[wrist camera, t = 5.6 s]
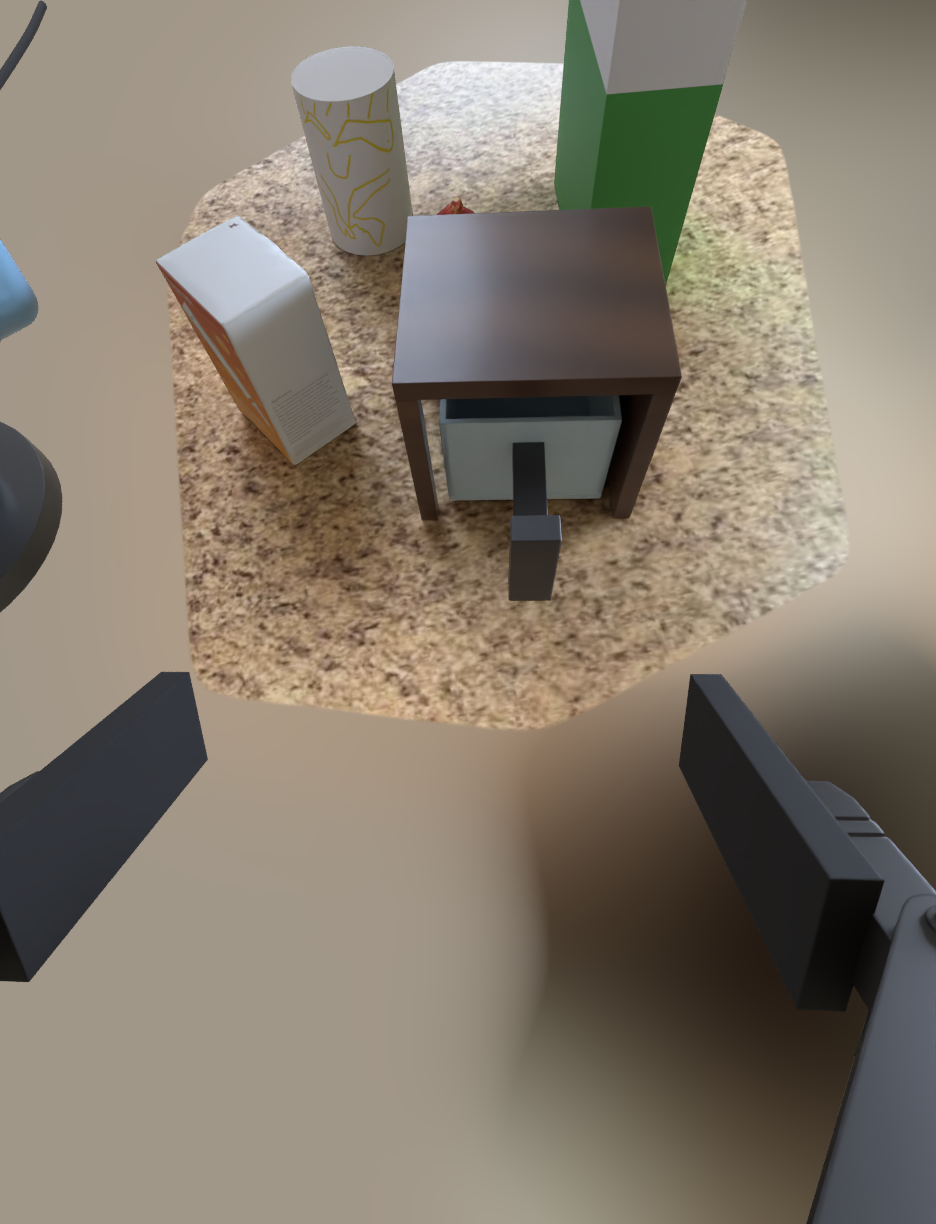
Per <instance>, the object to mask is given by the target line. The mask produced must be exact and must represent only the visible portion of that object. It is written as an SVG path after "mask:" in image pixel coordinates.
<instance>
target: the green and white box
mask: <svg viewBox="0 0 936 1224" xmlns="http://www.w3.org/2000/svg"><path fill="white" fill-rule="evenodd" d="M746 3H747V0H569V7H568V19H567V32H566V44H565V56H564V69H563V81H562V93H561V106H560V118H559V130H558V143H557V155H556V167H555V180H554V184H555V190H556V195H557V200H558V205H559V210H574V209H599V208H624V207H649V206H650V207H651V209H652V215H653V220H654V226H655V231H656V237H657V242H658V248H659V253H660V259H661V264H662V270H663V275H664V281H665V286H666V283H667V279H668V276H669V272H670V269H671V265H672V262H673V258H674V255H675V251H676V248H677V244H678V241H679V237H680V234H681V230H682V227H683V223H684V220H685V216H686V213H687V209H688V206H689V202H690V199H691V195H692V192H693V188H694V185H695V181H696V178H697V174H698V171H699V167H700V164H701V160H702V157H703V153H704V150H705V146H706V143H707V139H708V136H709V132H710V129H711V125H712V122H713V118H714V115H715V111H716V108H717V104H718V101H719V97H720V93H721V90H722V86H723V83H724V79H725V76H726V73H727V69H728V65H729V62H730V59H731V55H732V51H733V48H734V45H735V41H736V38H737V34H738V31H739V27H740V24H741V19H742V16H743V13H744V9H745V6H746Z"/></svg>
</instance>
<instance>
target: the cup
mask: <svg viewBox="0 0 936 1224" xmlns="http://www.w3.org/2000/svg"><path fill="white" fill-rule="evenodd" d="M291 83H292V87H293V91H294V94H295V99H296V102H297V106H298V110H299V114H300V118H301V122H302V125H303V129H304V133H305V137H306V141H307V145H308V148H309V152H310V156H311V160H312V164H313V167H314V171H315V175H316V179H317V183H318V187H319V190H320V194H321V198H322V202H323V206H324V209H325V213H326V217H327V221H328V225H329V229H330V232H331V236H332V239H333V241H334V243H335V244H336V245H337V246H338V247H339V248H341V249H342V250H344V251H346V252H349V253H352V254H356V255H378V254H382V253H386V252H389V251H392V250H394V249H396V248H398V247H399V246H401V245H402V244H403V243H405V240H406V230H407V219H408V216H413V213H412V205H411V198H410V190H409V182H408V174H407V167H406V159H405V151H404V143H403V136H402V128H401V120H400V113H399V105H398V97H397V89H396V82H395V74H394V66H393V63H392V61H391V59H390V58H389V57H388V56H387V55H385V54H384V53H382V52H380V51H377V50H375V49H371V48H366V47H357V46H349V47H338V48H332V49H328V50H325V51H322V52H319V53H316V54H314V55H312V56H310V57H308V58H306V59H305V60H304V61H302V62H301V63H300V64H299V65H298V66H297V67H296V68H295V69H294V71H293V73H292V76H291Z"/></svg>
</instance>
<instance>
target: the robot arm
mask: <svg viewBox="0 0 936 1224" xmlns="http://www.w3.org/2000/svg"><path fill="white" fill-rule="evenodd" d="M46 9H47V6H46V4H45V3H44V2H43V1H39V3H38V5H37V7H36V10H35V12H34V14H33V16H32V19H31V21H30V23H29V25H28V27H27V29H26V30H25V32H24V34H23V36H22V37H21V39H20V41H19V42H18V44H17V45H16V47H15V48H14V50H13V51H12V53H11V54H10V56H9V58H8V59H7V61H6V62H5V64H4V65H3V67H2V68H1V70H0V89H1V88H2V87H3V85H4V84H5V82H6V81H7V79H8V78H9V76H10V75H11V73H12V71H13V70H14V69H15V67H16V65H17V64H18V62H19V60H20V59H21V57H22V56H23V54H24V53H25V51H26V49H27V48H28V46H29V44H30V43H31V41H32V39H33V37H34V36H35V34H36V32H37V30H38V28H39V25H40V23H41V21H42V18H43V16H44V14H45V11H46ZM37 313H38V302H37V298H36V296H35V294H34V292H33V290H32V289H31V287H30V286H29V284H28V282H27V281H26V279H25V278H24V276H23V274H22V273H21V271H20V270H19V268H18V267H17V265H16V264H15V262H14V260H13V259H12V257H11V256H10V254H9V252H8V251H7V249H6V248H5V246H4V245H3V243H2V241H1V240H0V341H1V340H2V339H4V338H6V337H8V336H10V335H12V334H14V333H15V332H17V331H19V330H21V329H23V328H25V327H27V326H28V325H30V324H31V323H32V322H33V321H34V320H35V318H36V316H37ZM207 760H208V759H207V754H206V749H205V744H204V740H203V735H202V730H201V726H200V721H199V716H198V712H197V707H196V702H195V697H194V693H193V688H192V683H191V679H190V674H189V672H161V673H160V674H158V675H157V676H156V677H155V678H153V679H152V680H151V681H150V682H148V683H147V684H146V685H145V686H144V687H142V688H141V689H140V690H139V691H137V692H136V693H135V694H134V695H133V696H131V698H129V699H128V700H126V701H125V702H124V703H123V704H122V705H120V706H119V707H118V708H117V709H116V710H114V711H113V712H112V713H111V714H109V715H108V716H107V717H106V718H104V719H103V720H102V721H101V722H99V723H98V724H97V725H96V726H95V727H94V728H92V729H91V730H90V731H89V732H87V733H86V734H85V735H84V736H82V737H81V738H80V739H79V740H78V741H76V742H75V743H74V744H73V745H71V746H70V747H69V748H68V749H67V750H65V751H64V752H63V753H62V754H60V755H59V756H58V757H57V758H56V759H54V760H53V761H52V762H50V764H48V765H47V766H46V767H44V768H43V769H42V770H41V771H37V772H35V773H33V774H31V775H29V776H27V777H26V778H24V779H22V780H20V781H18V782H16V783H14V784H12V785H11V786H9V787H8V788H6V789H5V790H4V791H3V792H1V793H0V981H16V982H29V981H30V980H31V979H32V978H33V976H34V975H35V974H36V973H37V971H38V970H39V969H40V967H41V966H42V965H43V964H44V963H45V961H46V960H47V959H48V958H49V956H50V955H51V954H52V953H53V951H54V950H55V949H56V948H57V946H58V945H59V944H60V943H61V941H62V940H63V939H64V938H65V936H66V935H67V934H68V933H69V932H70V930H71V929H72V928H73V927H74V925H75V924H76V923H77V922H78V920H79V919H80V918H81V917H82V915H83V914H84V913H85V911H86V910H87V909H88V908H89V907H90V905H91V904H92V903H93V902H94V900H95V899H96V898H97V897H98V895H99V894H100V893H101V892H102V890H103V889H104V888H105V887H106V885H107V884H108V883H109V881H111V879H112V878H113V877H114V876H115V874H116V873H117V872H118V871H119V869H120V868H121V867H122V865H123V864H124V863H125V862H126V861H127V859H128V858H129V857H130V855H131V854H132V853H133V852H134V851H135V849H136V848H137V847H138V846H139V844H140V843H141V842H142V841H143V839H144V838H145V837H146V836H147V834H148V833H149V832H150V830H151V829H152V828H153V827H154V826H155V824H156V823H157V822H158V820H159V819H160V818H161V817H162V816H163V815H164V813H165V812H166V811H167V809H168V808H169V807H170V806H171V805H172V803H173V802H174V801H175V800H176V798H177V797H178V796H179V794H180V793H181V792H182V791H183V790H184V788H185V787H186V786H187V785H188V783H189V782H190V781H191V780H192V778H193V777H194V776H195V775H196V773H197V772H198V771H199V770H200V768H201V767H202V766H203V765H204V763H205V762H206V761H207ZM679 767H680V769H681V771H682V773H683V775H684V777H685V779H686V781H687V783H688V785H689V788H690V790H691V792H692V794H693V796H694V798H695V800H696V802H697V804H698V806H699V808H700V810H701V812H702V815H703V817H704V819H705V821H706V823H707V825H708V827H709V829H710V831H711V833H712V835H713V837H714V839H715V841H716V844H717V846H718V847H719V850H720V852H721V854H722V856H723V858H724V860H725V862H726V864H727V866H728V868H729V870H730V872H731V875H732V877H733V879H734V881H735V883H736V885H737V887H738V889H739V891H740V893H741V895H742V897H743V899H744V901H745V903H746V905H747V908H748V910H749V912H750V914H751V916H752V918H753V920H754V922H755V924H756V926H757V928H758V930H759V932H760V935H761V936H762V939H763V941H764V943H765V945H766V947H767V949H768V951H769V953H770V955H771V957H772V959H773V961H774V964H775V966H776V968H777V969H778V972H779V974H780V976H781V978H782V980H783V982H784V984H785V986H786V988H787V990H788V992H789V995H790V996H791V998H792V1001H793V1003H794V1005H795V1007H796V1009H797V1010H819V1011H846V1007H847V1004H848V1001H849V997H850V994H851V991H852V988H853V985H854V986H855V988H856V990H857V991H858V993H859V995H860V996H861V998H862V1000H863V1001H864V1003H865V1005H866V1006H867V1008H868V1010H869V1011H868V1014H867V1017H866V1021H865V1024H864V1027H863V1030H862V1033H861V1036H860V1039H859V1042H858V1045H857V1048H856V1052H855V1055H854V1056H855V1058H854V1061H853V1065H852V1068H851V1072H850V1076H849V1079H848V1082H847V1085H846V1089H845V1092H844V1096H843V1100H842V1103H841V1106H840V1109H839V1113H838V1116H837V1120H836V1123H835V1127H834V1130H833V1134H832V1137H831V1141H830V1144H829V1148H828V1151H827V1155H826V1158H825V1161H824V1164H823V1168H822V1171H821V1175H820V1178H819V1182H818V1185H817V1189H816V1192H815V1195H814V1199H813V1202H812V1206H811V1209H810V1213H809V1216H808V1219H807V1223H806V1224H936V891H935V890H934V889H933V888H932V887H931V885H930V884H929V883H928V882H927V881H926V880H925V879H924V877H923V876H922V875H921V874H920V873H919V872H918V871H917V869H916V868H915V867H914V866H913V865H912V864H911V863H910V862H909V860H908V859H907V858H906V857H905V856H904V855H903V853H902V852H901V851H900V850H899V849H898V848H897V847H896V846H895V844H894V843H893V842H892V841H891V840H890V839H889V838H886V837H885V833H884V832H883V831H882V830H881V828H880V827H879V826H878V825H877V824H876V823H875V822H874V821H871V817H870V816H869V815H868V814H867V813H866V811H865V810H864V809H863V808H862V807H861V806H860V805H859V803H858V802H857V801H856V800H855V799H854V798H853V797H851V796H850V795H848V794H847V793H846V792H844V791H843V790H841V789H840V788H838V787H837V786H835V785H833V784H832V783H831V782H829V781H805V779H804V778H803V777H802V775H801V774H800V773H799V772H798V770H797V769H796V768H795V767H794V765H793V764H792V763H791V762H790V760H789V759H788V758H787V757H786V755H785V754H784V753H783V752H782V750H781V749H780V748H779V747H778V745H777V744H776V743H775V741H774V740H773V739H772V738H771V737H770V735H769V734H768V733H767V731H766V730H765V729H764V728H763V726H762V725H761V724H760V723H759V721H758V720H757V719H756V718H755V716H754V715H753V714H752V712H751V711H750V710H749V709H748V707H747V706H746V705H745V704H744V702H743V701H742V700H741V699H740V698H739V696H738V695H737V694H736V692H735V691H734V690H733V689H732V687H731V686H730V685H729V683H728V682H727V681H726V680H725V678H724V677H723V676H722V675H721V674H720V675H719V674H716V675H715V674H712V675H711V674H709V675H707V674H691V675H690V682H689V690H688V698H687V706H686V714H685V722H684V730H683V738H682V745H681V753H680V762H679Z"/></svg>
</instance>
